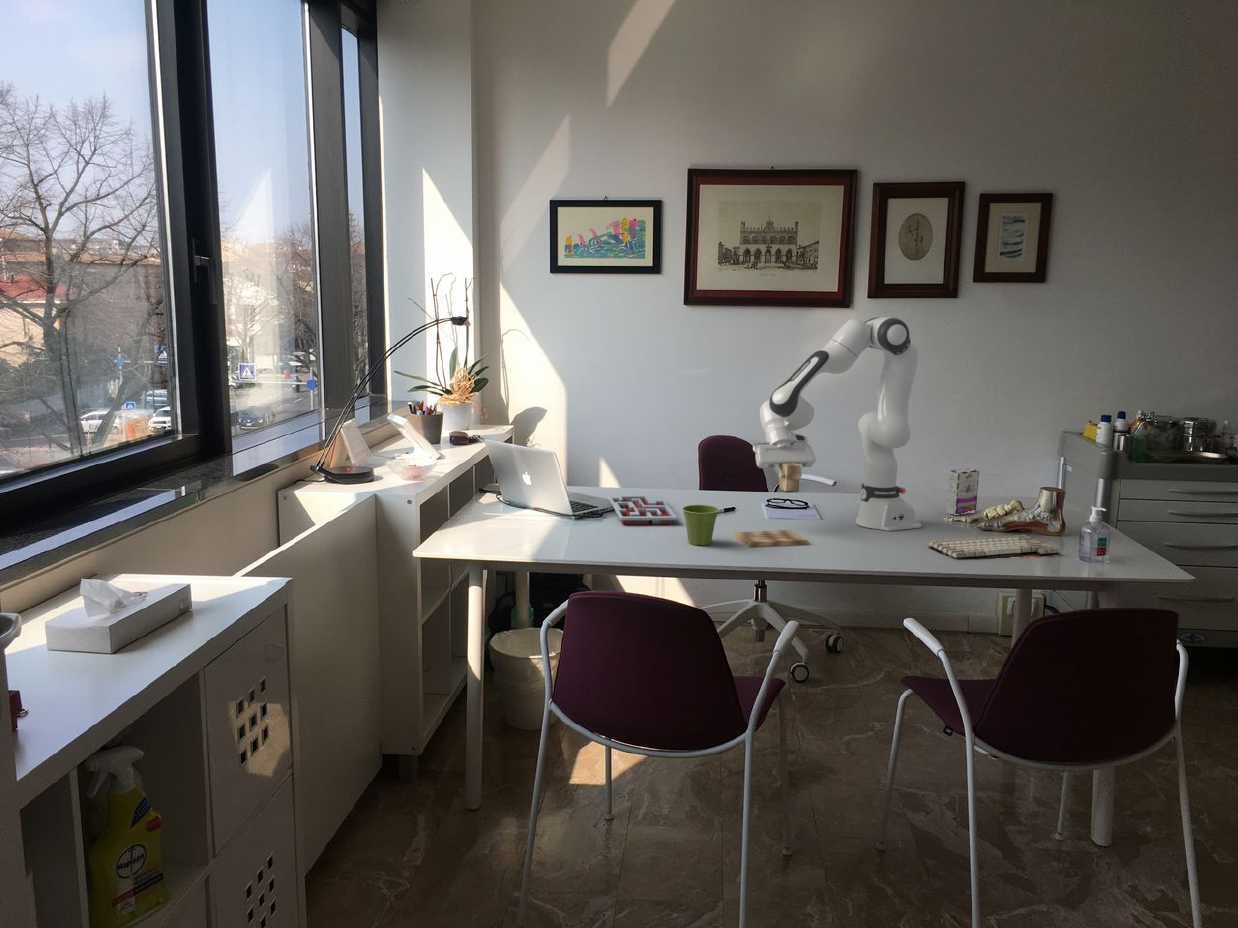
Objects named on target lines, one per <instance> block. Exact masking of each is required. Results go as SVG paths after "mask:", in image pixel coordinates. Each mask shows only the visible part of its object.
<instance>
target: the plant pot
mask: <svg viewBox="0 0 1238 928" xmlns="http://www.w3.org/2000/svg"><path fill="white" fill-rule="evenodd" d="M681 510H682V511H683V516H684V519H685V526H686V533H687V541H688V543H689V544H690V545H692V546H699V545H700V546H709V545H711V544H712V540H713V536H714V535H713V533H714V529H715V524H716V520H717V516H718V513H719V512H720V508H718V507H717V506H714V505H708V504H689V505H685V506H683V507H681Z"/></svg>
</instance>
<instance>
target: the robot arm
mask: <svg viewBox="0 0 1238 928" xmlns="http://www.w3.org/2000/svg"><path fill="white" fill-rule="evenodd" d="M910 336H911V335H910V329H909V327H908V325H907V324H906V322H904V321H903V320H901V319H900V318H898V317H891V316H883V317H878V316H877V317H873V318H869V319H867V320H866V321H863V320H861V319H858V318H852V319H849V320H847V321H846V322H845V323H844V324H843V325H842V326H841V327H840V328H839V329H838V330H837V331H836V332H835V333H834V335H833V336H832V337H831V338H830V339H829V341H828V342H827V344H825V345H824V346H823V347H822V348H821V349H820V350H817V351H814V352H813V353H812V354H811V355H810V356H809V357H807V359H806V360H805V361H804V362H803V363H801V365H800V366H799V367H798V368H797V369H796V371H795V372H793V373H792V374H791V376H790V377H789V378H788V379H787V380H786V381H784V383H782V384H780V385H779V386H778V387H777V388H775V390H773V391H772V393H771V395H770V397H769V399H767V400H766V401H765V402H763V403H762V405H761V406H760V408H759V421H760V424H761V428H762V431H763V432H764V435H765V436H764V437H765V438H764V439H765V441H766V442H756V443H755V444H753V445H752V451H753V453H755V454H754V455H755V462H756V466H757V467H758V468H759V469H773V471H774V472H775V473H776V474H778V478H779V479H780V478H784V477H785V473H784V471H781V469H780V464H781V463H796V464H798V465H800V478H802V475H803V473H802V469H803V468H812V467H813V466H814V464H815V463H816V459H817V458H816V455H815V452H814V450H813V448H812V446H811V445H810V444H809V443H808V442H809V441H808V437H807V436H805V435H803V434H798V433H795V432H794V431H797V430H799V429H802V428H805V427H806V426H808V425H809V424H810V423H811V422H812V420H813V418H814V414H815V412H814V411H815V409H814V407H813V405H811V404H810V403H809V402H808V401H807V400H806V399H805V398H804V397H803V396H802V395H801V394H802V392H803V391H804V390H805V389H806V388H807V386H808V385H809V384H810V383H811V382H812V381H813V380H814V379H815V378H816V377H817V376H818V375H821V374H823V373H827V374H833V375H836V374H839V375H840V374H843V373H846V372H847V371H848V370H850V369H851V368H852V366H853V365H854V364H855V362H856V361H857V360H858V359H859V357H860V355H862V353H863V352H864V351H865V350H866V349H867V348H870V349H871V348H872V349H875V350H879V351H882V353H883V354H884V355H883V356H884V362H883V364H882V368H881V372H880V375H879V380H878V384H877V388H876V391H875V395H876V399H877V411H870V412H866V413H864V414H863V415H862V416H861V417H860V419H859V420H858V423H857V430H858V432H859V434H860V437H861V445H862V452H863V478H862V483H861V488H860V504H859V508H858V509H859V510H858V513H857V517H856V519H855V524H856V525H857V526H860V527H864V528H868V529H869V528H870V529H874V530H881V531H882V530H883V531H888V532H892V531H894V532H895V531H901V530H908V529H910V530H911V529H920V528H922V523H921V522H920V521H918V520H916V513H915V512H916V511H915V509H914V507H912V505H911V504H909V503H908V502H907V501H906V500H905V499H903V497H901V496H900V493H901V494H903V495H904V494H906V491H907V489H906V488H905V487H902V486H900V487H899V486H898V485H897V476H898V475H897V473H898V462H897V459H896V456H895V453H894V452H895V451H894V449H900V448H903V447H904V446H905V445H907V443H908V442H909V440H910V437H911V429H910V426H909V401H910V397H911V392H912V389H913V384H914V382H915V381H914V380H915V377H916V374H917V373H916V372H917V367H918V358H919V357H918V356H919V351H918V348H917V347H916V346H915V345H914V344H913V343H911V338H910Z"/></svg>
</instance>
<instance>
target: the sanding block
mask: <svg viewBox="0 0 1238 928" xmlns="http://www.w3.org/2000/svg"><path fill="white" fill-rule="evenodd" d="M780 469H781V471H784V473H785V477H784V478H779V484H778V490H780V491H782V492H783V493H787V494H788V493H799V491H800V490H799V489H800V478H801V477H800V465H798V464H796V463H781V464H780Z"/></svg>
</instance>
